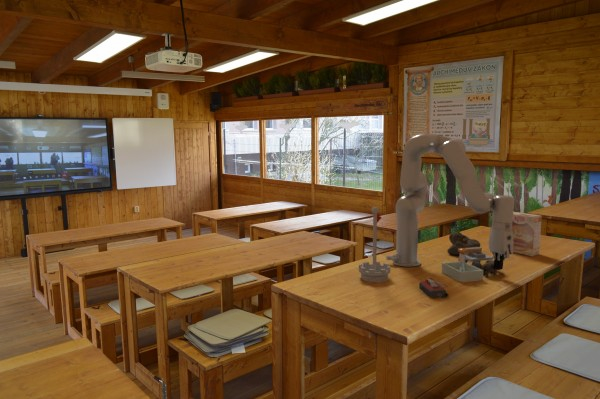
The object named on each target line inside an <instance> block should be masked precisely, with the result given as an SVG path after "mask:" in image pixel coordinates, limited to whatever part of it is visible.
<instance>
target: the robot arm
mask: <svg viewBox="0 0 600 399" xmlns="http://www.w3.org/2000/svg"><path fill="white" fill-rule="evenodd" d="M466 148H467V147H466V145H465V143H464V142H463V141H462V140H460V139H455V138H451V137H447V136H443V135H439V134H435V133H421V134H416V135H414V136H412V137H411V138H409V139H408V140H407V141H406V142H405V145H404V147H403V150H402V162H401V168H400V169H401V170H400V178H399V181H400V182H399V184H400V188H401V190H402V191H403V192H405V195H403V196H401V197H399V198H398V200H397V201H396V203H395V215H396V239H395V240H396V242H395V244H396V247H395V249H396V250H395V252H394V253H393V254H392V255H386V257H385V259H386V260H387V261H392V264H394V265H396V266H399V267H406V268H407V267H410V268H411V267H418V266H420V265H421V263H422V262H421V260H420V259H419V258H418V249H419V248H418V246H419V244H418V243H419V242H418V240H419V239H418V238H419V220H418V214H419V213H420V212H422V211H423V210H424V208H425V205H426V201H427V200H426V198H427V188H428V179H427V176H426V174H425V173H424V172H423V171H422V166H423V165H422V164H423V163H422V156H423V155H424V154H435V155H438V156H442V158H443V159H444V161H445V162H446V165H447V166H448V167H449V169H450V170H451V172H452V174H453V176H454V177H455V178H456V180H457V184H458V187H459V188H460V189H459V190H460V191H461V193H462V196H463V198H464V199H465V200H466V203H468V205H469V207H470V208H471V210H472V211H473V212H475V213H477V214H485V213H488V212H490V211H492V222H491V228H490V233H489V239H488V249H489V252H490V253H491V254H492V255H493V256H492V257H493V261H494V269H496V270H497V271H501V270H503V268H504V261H505V259H510V255H513V254H514V252H513V243H514V240H513V231H512V221H513V212H514V208H515V207H514V206H515V198H514V197H513V196H510V195H507V194H506V195H501V194H500V195H499V194H493V193H490V192H484V190H482V188H481V186H480V185H479V182H478V179H477V171H476V168H475V166H474V164H473V163H472V161H471V160H470V158H469V157H468V155H467V153H466V152H467V151H466Z"/></svg>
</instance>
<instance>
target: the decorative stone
mask: <svg viewBox="0 0 600 399" xmlns="http://www.w3.org/2000/svg"><path fill="white" fill-rule="evenodd" d="M448 238H449V241H450V243H451V244H452V245H451V246H449V248H447V250H446V252H447V253H448V255H454V256H459V255H460V252H458V249H459V248H472V247H480V248H481V242H480V241H478V240H477V239H474V238H470V237H468V236H467V235H465V234H463V233H461V232H460V231H455V232H452V233H450V234H449V237H448Z"/></svg>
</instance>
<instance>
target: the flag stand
mask: <svg viewBox="0 0 600 399" xmlns="http://www.w3.org/2000/svg"><path fill="white" fill-rule="evenodd" d="M379 211H380V210H379V208H378V207H377V206H372V208H371V214H373V216H372V263H370V262H369V261H364V262H362V263H359V264H358V272H359V274H360V279H362V280H363V281H366V282H370V283H381V282H386V281H387V280H388V278H389V274H390V273H391V266H390V265H389V263H387V262H383V264H381V262H380V261H377V249H378V248H377V247H378V246H377V245H378V244H377V242H378V240H377V239H378V237H377V236H378V235H377V234H378V230H377V229H378V223H379V221H380V220H381V219H382V216H381V215H379Z"/></svg>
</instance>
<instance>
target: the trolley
mask: <svg viewBox="0 0 600 399" xmlns="http://www.w3.org/2000/svg"><path fill="white" fill-rule="evenodd" d="M465 249H467V252H466V257H465V262H466V263H468V261H469V262H471V265H472V266H475V267H477V268H479V269H481V270H482V263H481V262H483V261H485V263H487V262H492V261H494V258H493V256H491V255H488V254H486V253H485V252H483V249H482V247H481V246H480V247H472V248H465ZM457 262H459V258H458V261H457Z"/></svg>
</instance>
